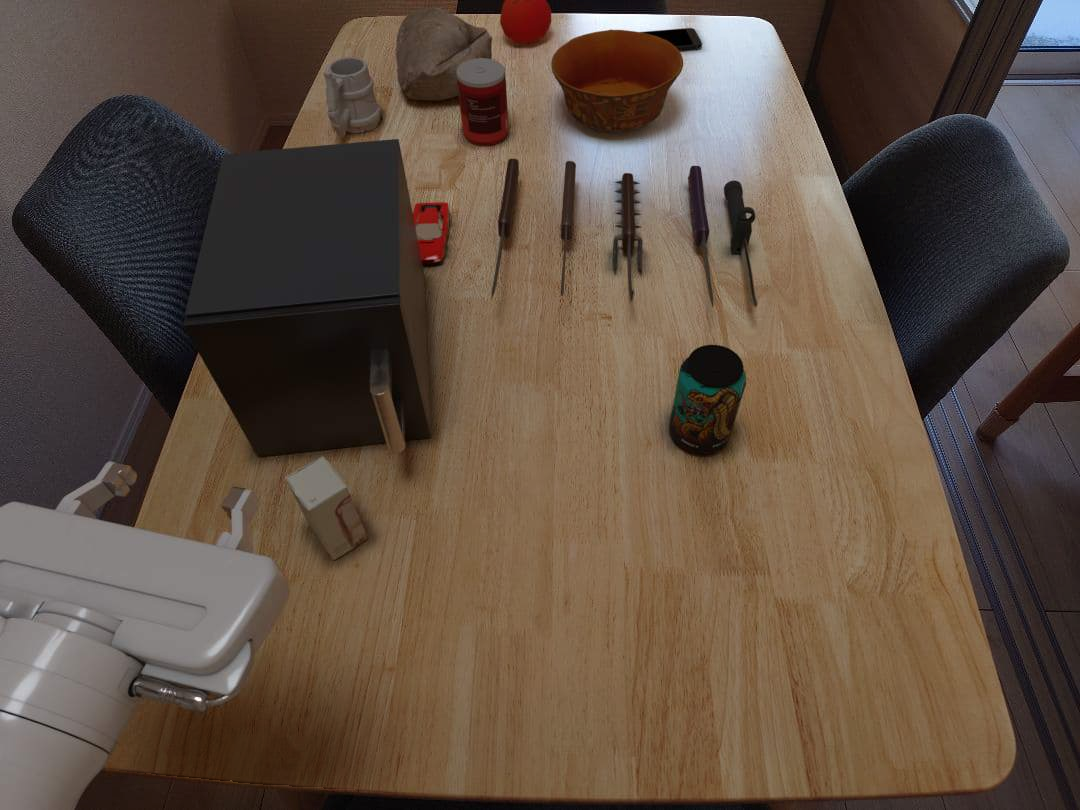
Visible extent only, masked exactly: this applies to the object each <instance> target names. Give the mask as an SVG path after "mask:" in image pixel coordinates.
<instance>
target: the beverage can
mask: <svg viewBox="0 0 1080 810" xmlns="http://www.w3.org/2000/svg"><path fill="white" fill-rule="evenodd" d="M746 386H747V374H746V371H745V369H744V362H743V361H742V359H741V357H740V356H739V355H738V354H737V353H736V352H735V351H734V350H732V349H731V348H728V347H726V346H724V345H720V344H719V345H718V344H705V345H701V346H699V347H697V348H695V349H693V351H692V352H691V353H690V354H689V356H688V357H686V358H685V359H684V361H683V362H682V364H681V365H680V367H679V371H678V377H677V382H676V386H675V392H674V397H673V402H672V407H671V413H670V416H669V417H670V418H669V423H668V427H669V433H670V435H671V437H672V439H673V440H674V442H676V444H677V445H678V446H680V448H682V449H684V450H686V451H688V452H691V453H694V454H695V453H696V454H703V455H704V454H711V453H715V452H718V451H719V450H721V449H723V448H724V447H725V446H726V445H727V444H728V442H729V440H730V438H731V435H732V431H733V429H734V425H735V422H736V418H737V415H738V412H739V408H740V406H741V402H742V399H743V395H744V392H745V389H746Z"/></svg>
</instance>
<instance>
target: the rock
mask: <svg viewBox="0 0 1080 810" xmlns="http://www.w3.org/2000/svg"><path fill="white" fill-rule="evenodd" d="M492 42H493V36H492V35H491V34H490V33H489V31H488V28H485V27H483V26H482V27H479V26H475V25H471V24H470V23H468V22H467V21H465V20H464V19H462V18H461V17H459V16H457V15H454V14H452V13H449V12H447V11H445V9H442V8H440V7H438V6H427V7H424V8H422V7H421V8H417V9H414V10H413V11H411V12H410V13H409V14H407V15H406V16H405V17H404V19H403V20H402V22H401V23H400V25H399V28H398V31H397V34H396V45H395V59H396V65H397V68H396V70H397V72H396V73H397V82H398V84H399V88H400V90H401V93H402V94H403V95H405V96H407V97H408V98H409V99H412V100H418V101H428V102H429V101H430V102H433V101H445V100H449V99H452V98H455V97H457V96H459V94H458V85H457V75H456V74H457V72H456V71H457V68H458V66H460V65H461V64H462V63H463V62H466V61H468V60H471V59H476V58H487V59H492V57H493V54H492V53H493V52H492V46H493V45H492ZM492 60H493V59H492Z"/></svg>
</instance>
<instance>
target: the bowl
mask: <svg viewBox="0 0 1080 810" xmlns="http://www.w3.org/2000/svg"><path fill="white" fill-rule="evenodd" d="M642 32H643V31H635V30H625V29H607V30H601V31H600V30H599V31H593V32H588V33H585V34H581V35H578V36H576V37H574V38H571V39H570V40H569V41H567V42H566V43H563V45H561V46H560V47H559V48H558V49H556V51H555V52H554V54H553V55H552V58H551V63H550V64H551V65H550V67H551V72H552V74H553V76H554V78H555V79H556V82H557V83H558V85H560V88H561V90H562V92H563V97H564V102H565V106H566V109H567V112H568V114H569V115H570V116H571V118H572V119H573V120H575V122H577V123H579V124H581V125H582V126H585V127H587V128H591V129H594V130H599V131H605V132H623V131H629V130H634V129H637V128H641V127H644V126H646V125H648V124H650V123H652V122H654V121H655V120H656V119H657V118H658V117H659V116H660V114H661V113H662V111H663V109H664V106H665V103H666V99H667V96H668V93H669V90H670V89H671V87H672V86H673V85H674V83H675V81H676V80H678V79H677V78H678V77H679V76H680V74H681V73H682V70H683V68H684V58H683V56H682V55H683V54H682V53H681V50H678V49H677V48H676V47H675V46H674V45H673V44H672V43H670V42H669V41H667V40H664V39H662V38H660V37H657V36H654V35H650V34H647V33H642Z"/></svg>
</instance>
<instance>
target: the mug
mask: <svg viewBox="0 0 1080 810" xmlns="http://www.w3.org/2000/svg"><path fill="white" fill-rule="evenodd" d="M323 76H324V78H325V79H324V80H325V84H326V87H325V93H326V103H327V117H328V119H329V120H330V124H331V125H330V126H331V127H332V129H333V131H334V132H336V133H337V135H338V137H339V138H344V137H345V136H346V132H347V133H351V134H360V133H365V132H370V131H372V130H374V129H375V128H377V127H378V125H379V124H380V122H381V113H382V109H381V106H380V105H379V103H378V102H377V98H376V95H375V91H374V86H375V83H374V80H373V78H372V76H371V75H370V70H369V68H368V64H367V61H366V60H364V59H363V58H360V57H355V56H343V57H339V58H337V59H334V60H333V61H331V63H329V64H328V66H327V71H323Z"/></svg>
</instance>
